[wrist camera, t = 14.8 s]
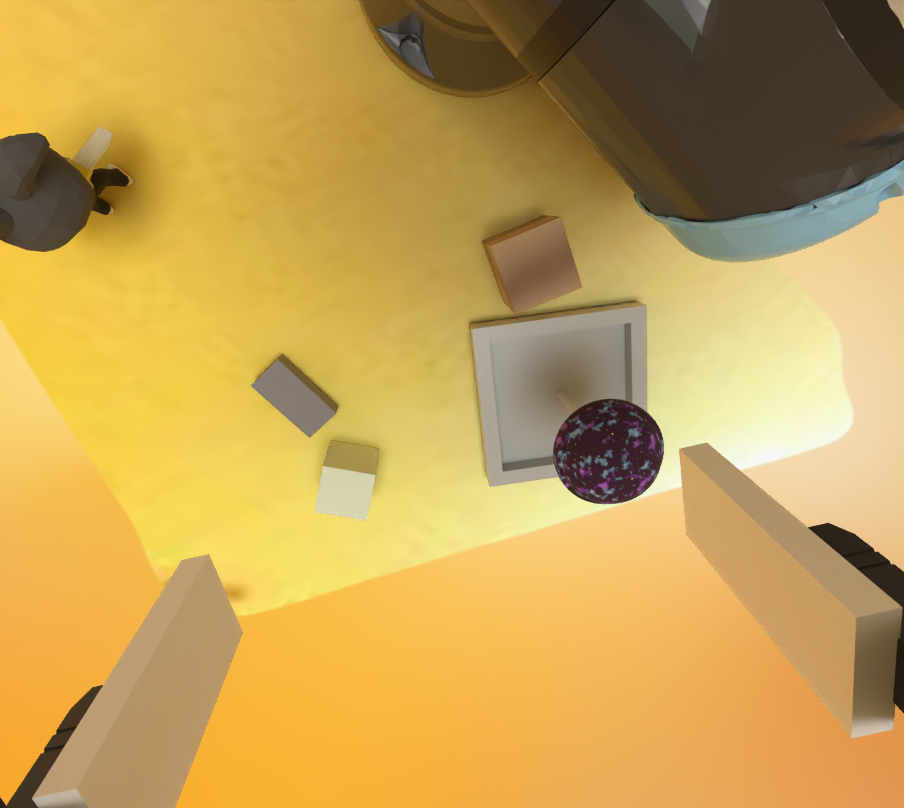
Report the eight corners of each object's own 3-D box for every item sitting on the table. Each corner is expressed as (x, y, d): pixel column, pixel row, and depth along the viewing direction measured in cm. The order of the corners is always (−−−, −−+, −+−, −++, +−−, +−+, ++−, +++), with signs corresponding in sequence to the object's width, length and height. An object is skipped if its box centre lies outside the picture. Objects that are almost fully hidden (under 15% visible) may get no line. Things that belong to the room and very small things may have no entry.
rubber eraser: (257, 378, 46) (251, 385, 44) (283, 353, 45) (277, 359, 44) (313, 428, 48) (309, 437, 46) (338, 404, 47) (336, 413, 45)
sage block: (331, 440, 48) (322, 466, 43) (378, 448, 48) (375, 475, 44) (323, 482, 49) (314, 512, 44) (370, 490, 50) (366, 520, 45)
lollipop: (557, 448, 49) (618, 547, 35) (502, 396, 47) (543, 477, 33) (618, 393, 48) (707, 471, 33) (564, 336, 46) (634, 394, 32)
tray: (469, 323, 45) (472, 329, 43) (635, 300, 46) (646, 305, 44) (486, 475, 50) (489, 486, 48) (638, 453, 50) (647, 463, 48)
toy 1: (118, 118, 39) (-44, 71, 25) (189, 174, 40) (73, 159, 26) (55, 219, 41) (-130, 228, 27) (125, 269, 42) (-16, 302, 28)
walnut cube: (481, 241, 44) (490, 246, 39) (543, 215, 43) (560, 217, 39) (504, 302, 45) (515, 314, 40) (563, 278, 45) (582, 287, 40)
